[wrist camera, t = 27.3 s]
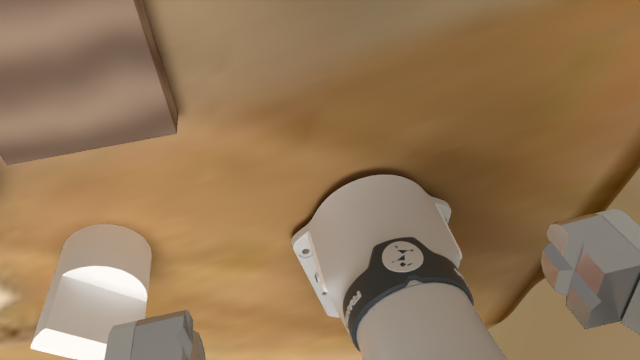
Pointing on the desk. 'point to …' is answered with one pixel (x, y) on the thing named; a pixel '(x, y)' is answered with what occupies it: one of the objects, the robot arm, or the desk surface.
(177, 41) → the desk surface
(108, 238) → the cylinder with rectangular tab
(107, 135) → the walnut riser
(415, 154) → the desk surface
